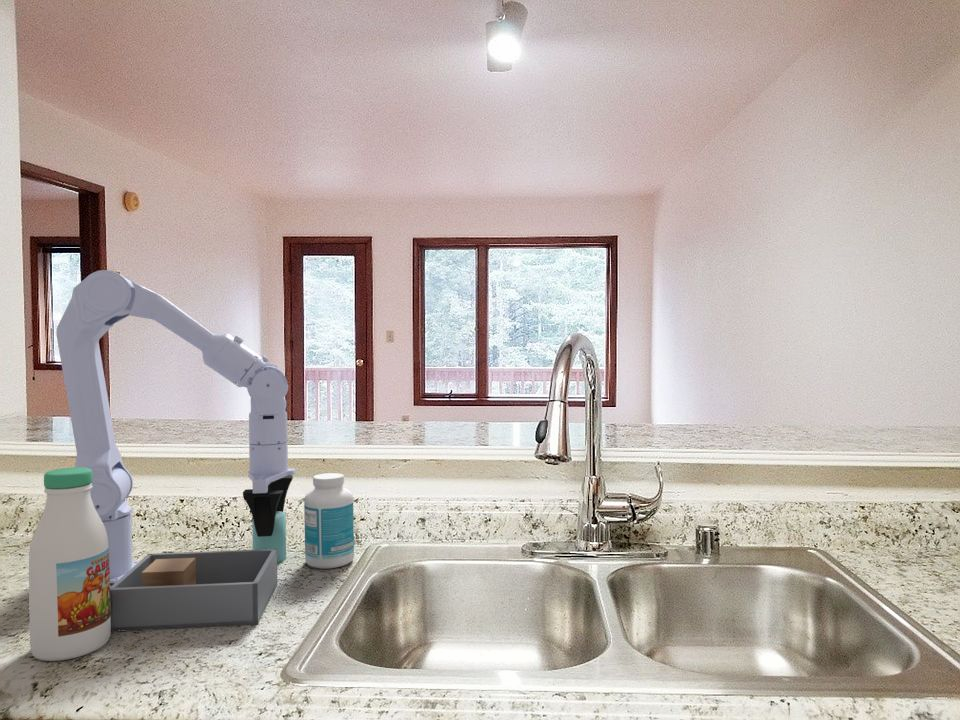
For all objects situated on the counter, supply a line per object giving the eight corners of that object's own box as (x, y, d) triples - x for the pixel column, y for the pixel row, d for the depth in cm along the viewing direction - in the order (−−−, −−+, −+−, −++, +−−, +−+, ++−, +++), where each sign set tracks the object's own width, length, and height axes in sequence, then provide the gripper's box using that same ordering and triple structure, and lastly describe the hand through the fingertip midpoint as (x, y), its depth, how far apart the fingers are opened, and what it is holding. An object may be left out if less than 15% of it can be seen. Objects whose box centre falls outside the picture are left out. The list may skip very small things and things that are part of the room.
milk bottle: (25, 669, 69) (21, 480, 68) (35, 639, 76) (31, 467, 75) (109, 653, 73) (106, 473, 72) (112, 626, 79) (109, 461, 79)
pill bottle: (359, 555, 106) (359, 471, 105) (345, 571, 98) (345, 481, 98) (314, 553, 106) (313, 470, 106) (297, 569, 99) (296, 480, 99)
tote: (107, 631, 78) (106, 590, 78) (149, 589, 91) (148, 553, 91) (258, 624, 80) (257, 583, 80) (277, 583, 93) (277, 548, 93)
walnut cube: (142, 612, 82) (141, 572, 82) (156, 596, 87) (156, 559, 87) (184, 610, 83) (183, 570, 83) (196, 594, 88) (195, 557, 88)
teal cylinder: (249, 565, 101) (249, 520, 101) (256, 554, 106) (256, 511, 106) (283, 564, 101) (282, 519, 101) (288, 553, 106) (288, 510, 106)
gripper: (287, 449, 96) (288, 541, 97) (301, 434, 111) (302, 515, 111) (237, 450, 95) (238, 543, 96) (258, 435, 110) (259, 516, 110)
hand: (269, 528), depth 103 cm, fingers open, 7 cm apart
